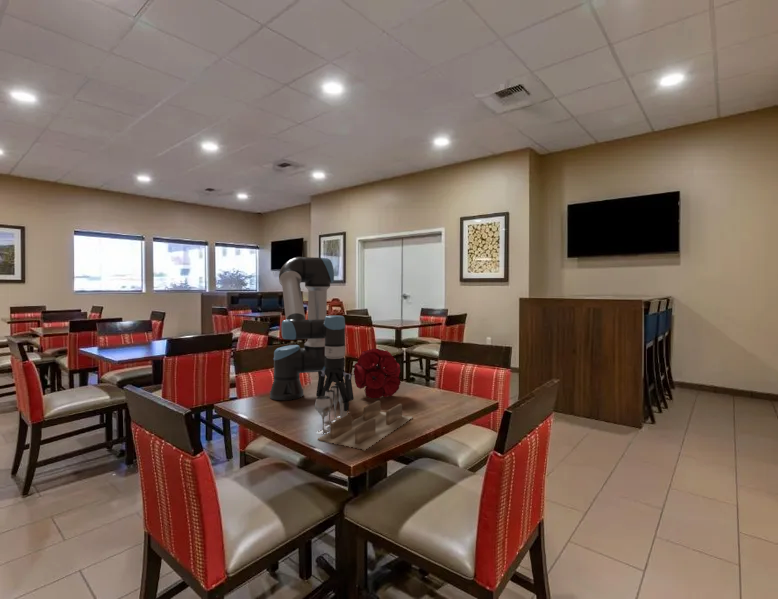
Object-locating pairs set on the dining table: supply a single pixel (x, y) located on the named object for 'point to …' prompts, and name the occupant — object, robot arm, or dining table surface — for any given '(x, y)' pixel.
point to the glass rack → (365, 427)
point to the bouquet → (377, 373)
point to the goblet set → (328, 404)
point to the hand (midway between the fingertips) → (334, 417)
